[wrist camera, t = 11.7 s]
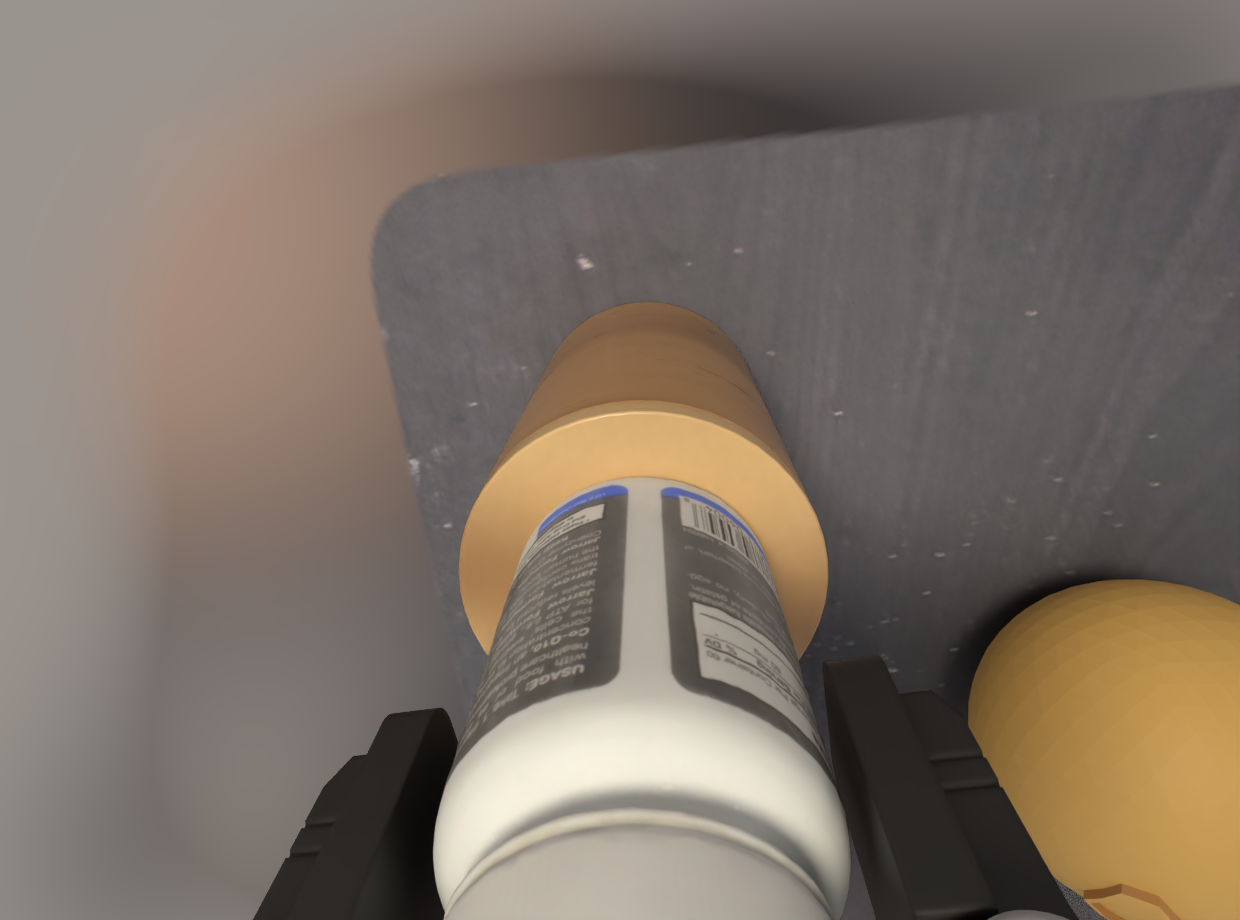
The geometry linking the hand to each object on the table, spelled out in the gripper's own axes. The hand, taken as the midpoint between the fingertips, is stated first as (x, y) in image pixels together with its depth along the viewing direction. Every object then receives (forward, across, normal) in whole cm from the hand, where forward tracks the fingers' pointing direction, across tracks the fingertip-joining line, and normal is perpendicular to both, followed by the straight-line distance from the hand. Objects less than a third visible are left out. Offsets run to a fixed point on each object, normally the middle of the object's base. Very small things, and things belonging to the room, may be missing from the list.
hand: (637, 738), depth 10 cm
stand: (+15, 0, 0) cm, 15 cm away
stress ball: (+15, -14, +12) cm, 23 cm away
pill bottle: (+4, 0, 0) cm, 4 cm away
